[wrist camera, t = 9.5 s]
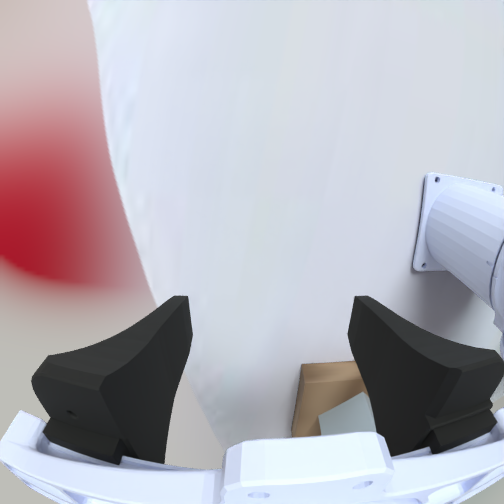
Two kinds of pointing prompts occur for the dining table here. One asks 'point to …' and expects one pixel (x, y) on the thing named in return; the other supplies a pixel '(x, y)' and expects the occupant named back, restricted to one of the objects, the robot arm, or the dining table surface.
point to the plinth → (323, 393)
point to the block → (348, 417)
